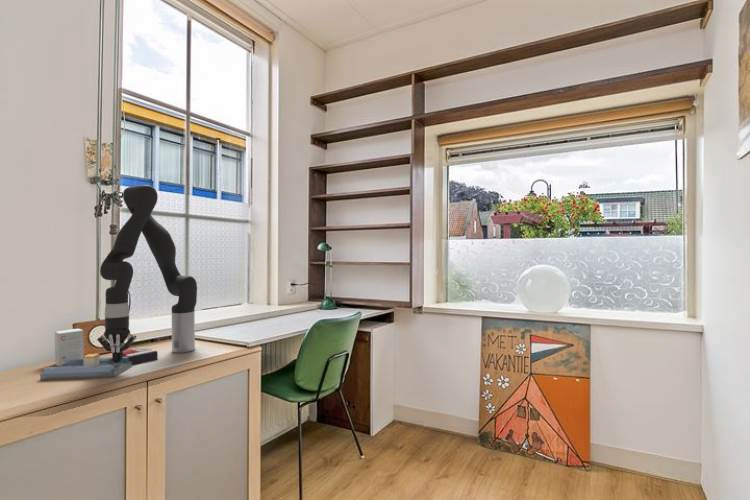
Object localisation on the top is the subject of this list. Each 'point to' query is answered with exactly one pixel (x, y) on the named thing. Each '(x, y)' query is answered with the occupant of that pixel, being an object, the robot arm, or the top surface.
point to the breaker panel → (88, 375)
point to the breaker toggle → (91, 360)
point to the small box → (68, 345)
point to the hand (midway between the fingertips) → (117, 362)
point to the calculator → (140, 355)
